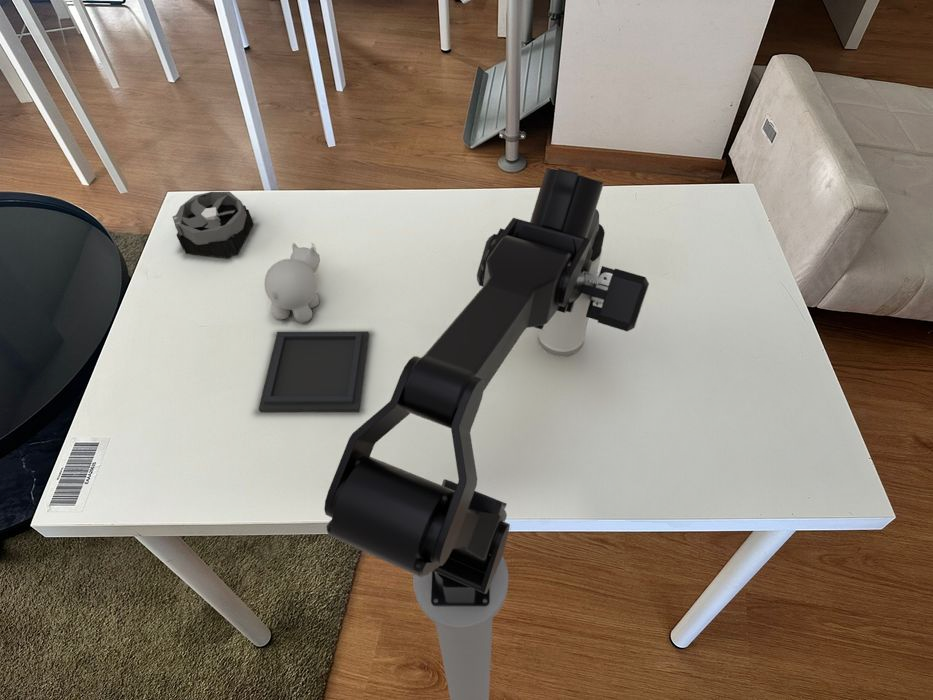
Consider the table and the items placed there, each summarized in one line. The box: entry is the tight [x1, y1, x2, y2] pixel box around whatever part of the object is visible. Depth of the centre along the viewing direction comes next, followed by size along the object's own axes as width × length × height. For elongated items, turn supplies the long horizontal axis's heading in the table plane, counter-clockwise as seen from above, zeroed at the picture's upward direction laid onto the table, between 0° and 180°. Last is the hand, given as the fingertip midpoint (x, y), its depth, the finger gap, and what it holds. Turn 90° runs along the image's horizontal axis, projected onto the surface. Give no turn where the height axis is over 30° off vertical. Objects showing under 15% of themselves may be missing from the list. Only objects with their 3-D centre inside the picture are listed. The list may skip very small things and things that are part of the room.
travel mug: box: [537, 223, 606, 357], centre depth 81 cm, size 6×7×20 cm
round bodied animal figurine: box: [263, 242, 321, 324], centre depth 95 cm, size 7×12×8 cm, turn 163°
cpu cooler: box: [171, 191, 255, 259], centre depth 104 cm, size 10×6×10 cm
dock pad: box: [258, 330, 370, 413], centre depth 89 cm, size 13×13×2 cm
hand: (571, 283), depth 82 cm, fingers closed on travel mug, 6 cm apart
